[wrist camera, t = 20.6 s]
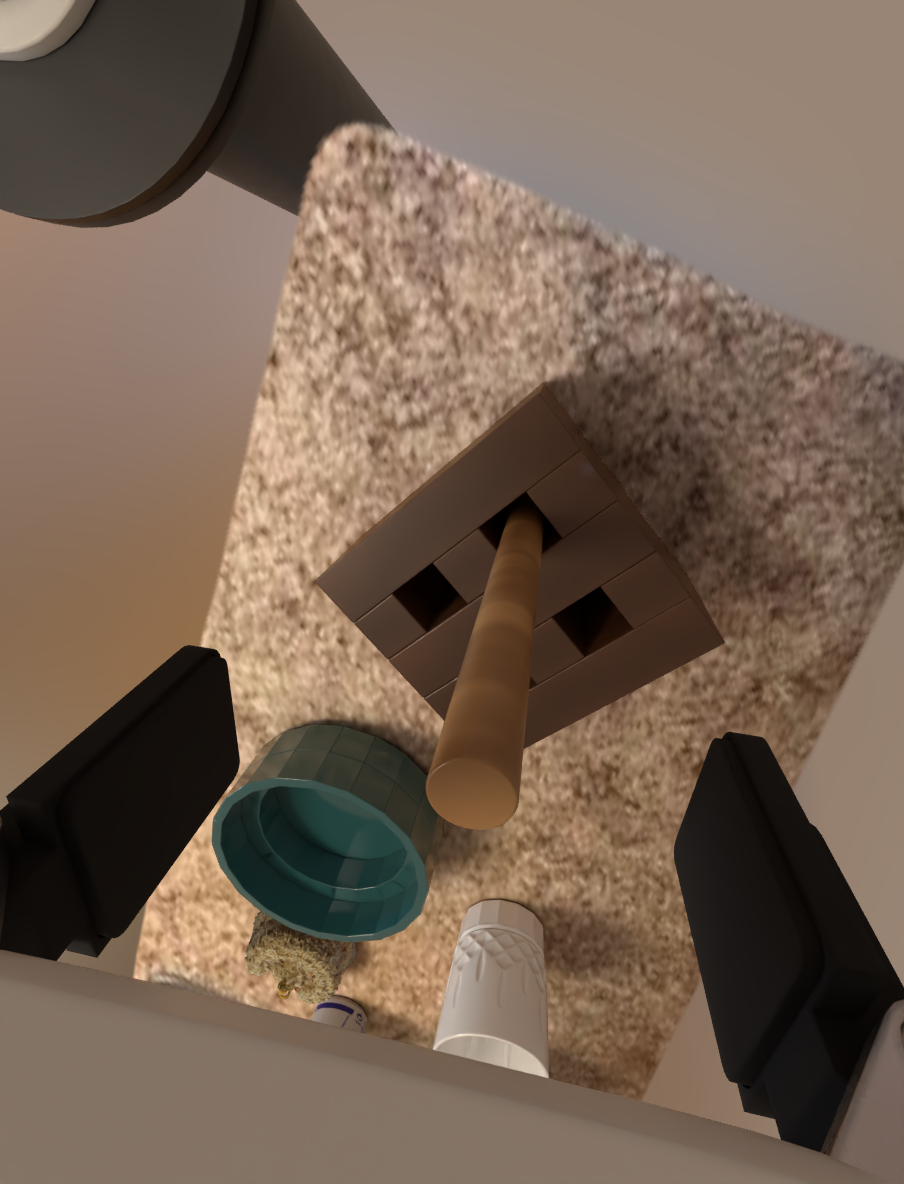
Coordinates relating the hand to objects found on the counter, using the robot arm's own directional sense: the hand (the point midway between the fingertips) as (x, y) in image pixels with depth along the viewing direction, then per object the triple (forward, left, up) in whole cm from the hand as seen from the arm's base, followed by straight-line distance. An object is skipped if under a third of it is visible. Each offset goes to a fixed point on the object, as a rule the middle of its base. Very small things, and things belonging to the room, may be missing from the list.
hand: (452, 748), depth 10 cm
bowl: (+11, -26, -22) cm, 35 cm away
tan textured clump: (+21, -42, -22) cm, 52 cm away
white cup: (+28, -24, -22) cm, 43 cm away
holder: (+3, -3, -22) cm, 22 cm away
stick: (+1, 0, -22) cm, 22 cm away
